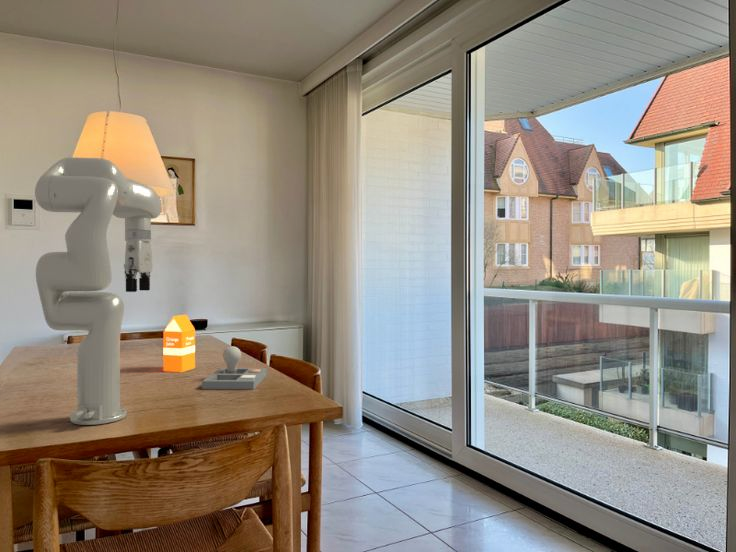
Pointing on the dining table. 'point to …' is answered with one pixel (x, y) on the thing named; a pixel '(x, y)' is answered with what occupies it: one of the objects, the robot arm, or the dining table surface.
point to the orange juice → (179, 345)
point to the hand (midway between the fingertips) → (138, 291)
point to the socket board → (235, 379)
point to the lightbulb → (232, 358)
